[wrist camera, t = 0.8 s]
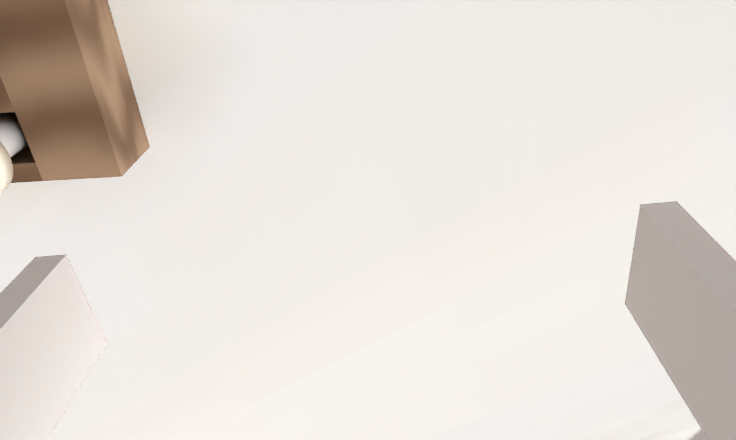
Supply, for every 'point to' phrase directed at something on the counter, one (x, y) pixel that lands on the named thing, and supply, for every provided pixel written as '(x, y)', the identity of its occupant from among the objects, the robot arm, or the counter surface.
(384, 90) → the counter surface
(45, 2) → the brown wooden holder block
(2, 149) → the knob
